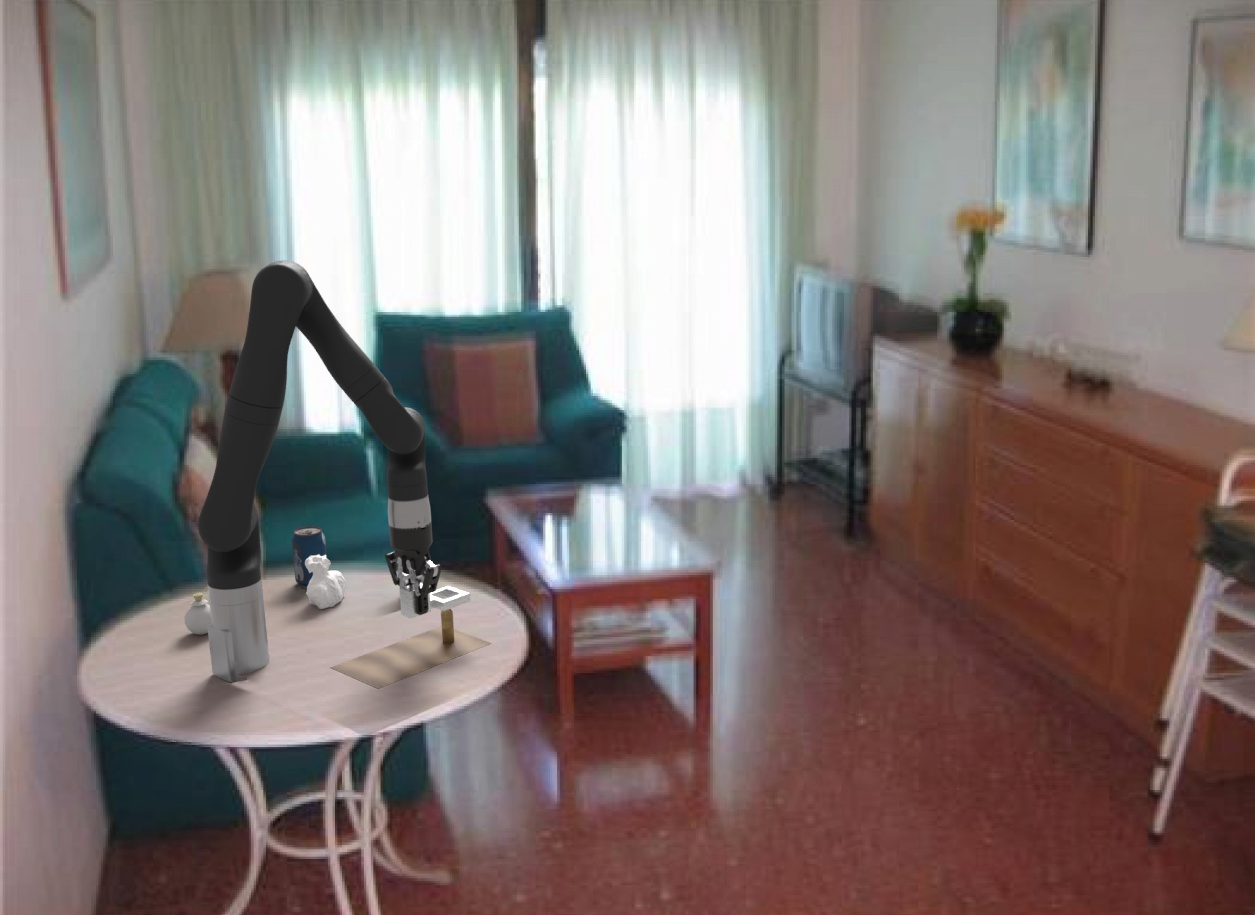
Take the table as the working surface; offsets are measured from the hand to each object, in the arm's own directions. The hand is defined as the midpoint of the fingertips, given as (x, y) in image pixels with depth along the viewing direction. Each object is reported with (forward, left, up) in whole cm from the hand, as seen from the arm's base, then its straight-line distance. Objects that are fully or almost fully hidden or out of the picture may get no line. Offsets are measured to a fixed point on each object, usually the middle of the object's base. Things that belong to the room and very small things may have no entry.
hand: (416, 610), depth 235 cm
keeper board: (-2, 0, -10) cm, 10 cm away
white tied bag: (+6, +39, -10) cm, 41 cm away
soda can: (+11, +51, -10) cm, 53 cm away
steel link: (+4, 0, 0) cm, 4 cm away
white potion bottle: (-19, +43, -10) cm, 48 cm away
